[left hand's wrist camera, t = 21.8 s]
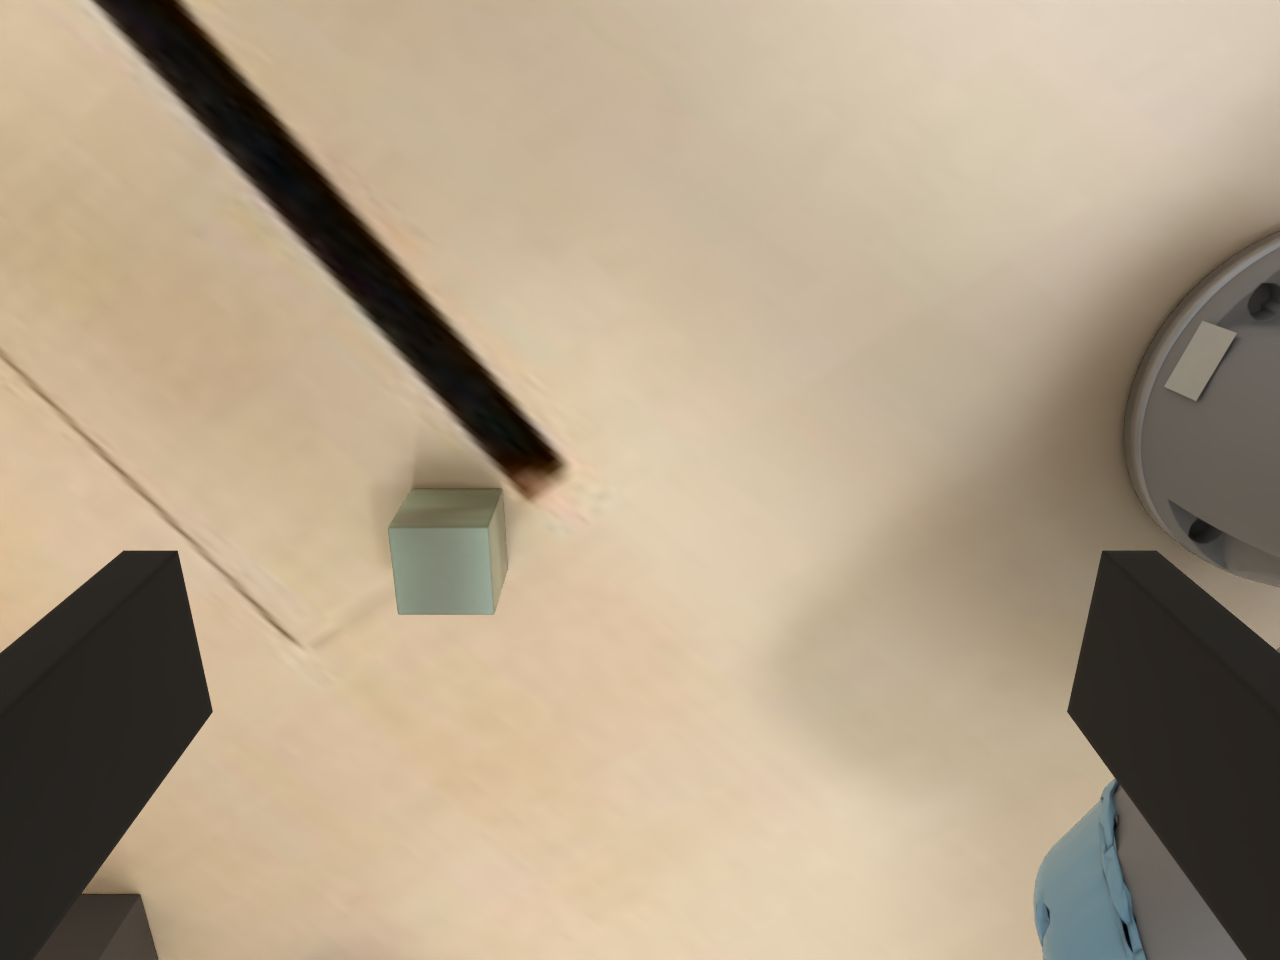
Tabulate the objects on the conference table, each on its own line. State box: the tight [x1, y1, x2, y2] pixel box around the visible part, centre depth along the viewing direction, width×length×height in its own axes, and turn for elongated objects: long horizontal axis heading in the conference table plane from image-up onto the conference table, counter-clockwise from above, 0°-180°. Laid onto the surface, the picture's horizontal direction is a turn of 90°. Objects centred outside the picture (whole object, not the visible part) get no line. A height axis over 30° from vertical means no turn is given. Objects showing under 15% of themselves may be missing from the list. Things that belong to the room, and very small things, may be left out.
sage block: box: [388, 489, 508, 615], centre depth 38 cm, size 4×4×4 cm
